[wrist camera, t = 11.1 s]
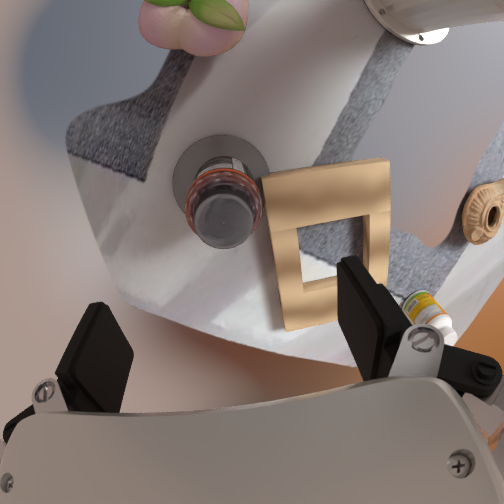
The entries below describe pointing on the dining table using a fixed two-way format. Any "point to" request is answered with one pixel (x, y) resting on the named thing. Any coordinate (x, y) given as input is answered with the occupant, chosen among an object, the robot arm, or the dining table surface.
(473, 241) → the pottery oil lamp
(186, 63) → the dining table surface
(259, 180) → the slate coaster
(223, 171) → the supplement bottle
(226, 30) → the decorative fruit
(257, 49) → the dining table surface
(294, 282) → the holder board
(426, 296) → the supplement bottle
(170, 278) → the dining table surface
